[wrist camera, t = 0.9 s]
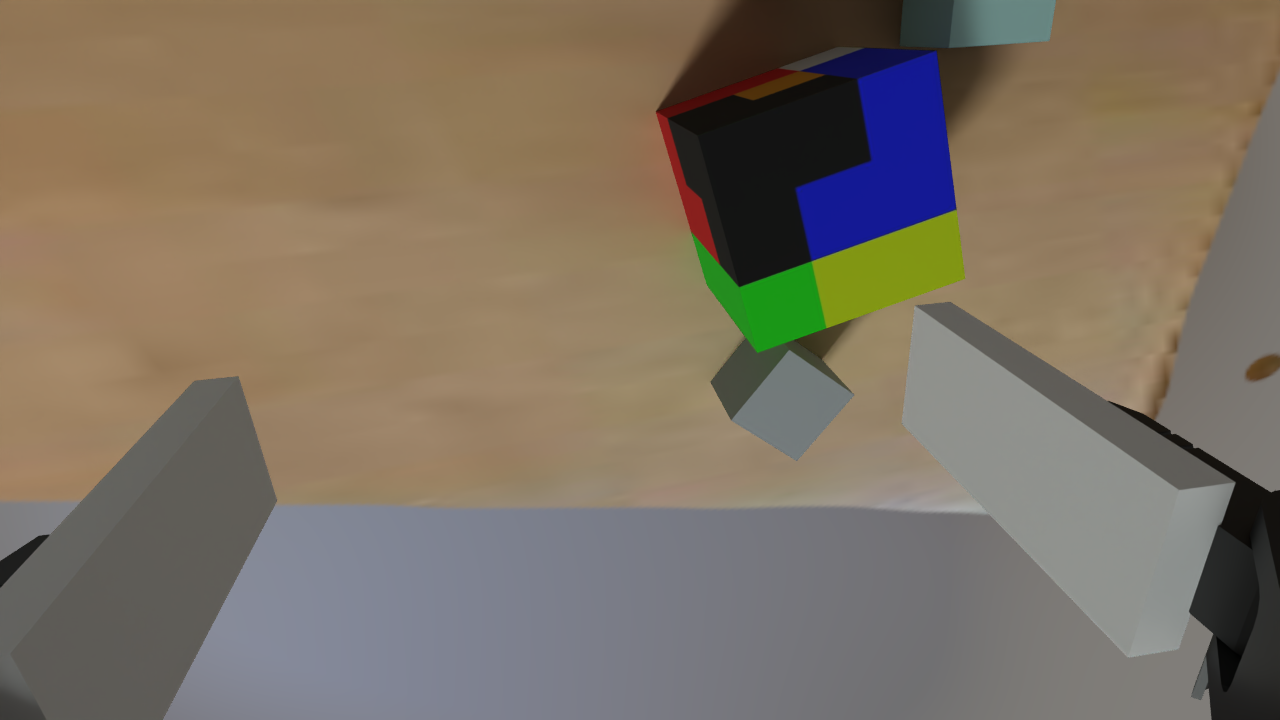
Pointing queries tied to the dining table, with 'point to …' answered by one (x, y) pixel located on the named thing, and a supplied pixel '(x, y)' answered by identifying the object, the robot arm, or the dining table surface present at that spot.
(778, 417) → the slate grey cube
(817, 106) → the puzzle toy
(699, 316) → the dining table surface
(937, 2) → the dusty teal cube
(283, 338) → the dining table surface
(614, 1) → the dining table surface
